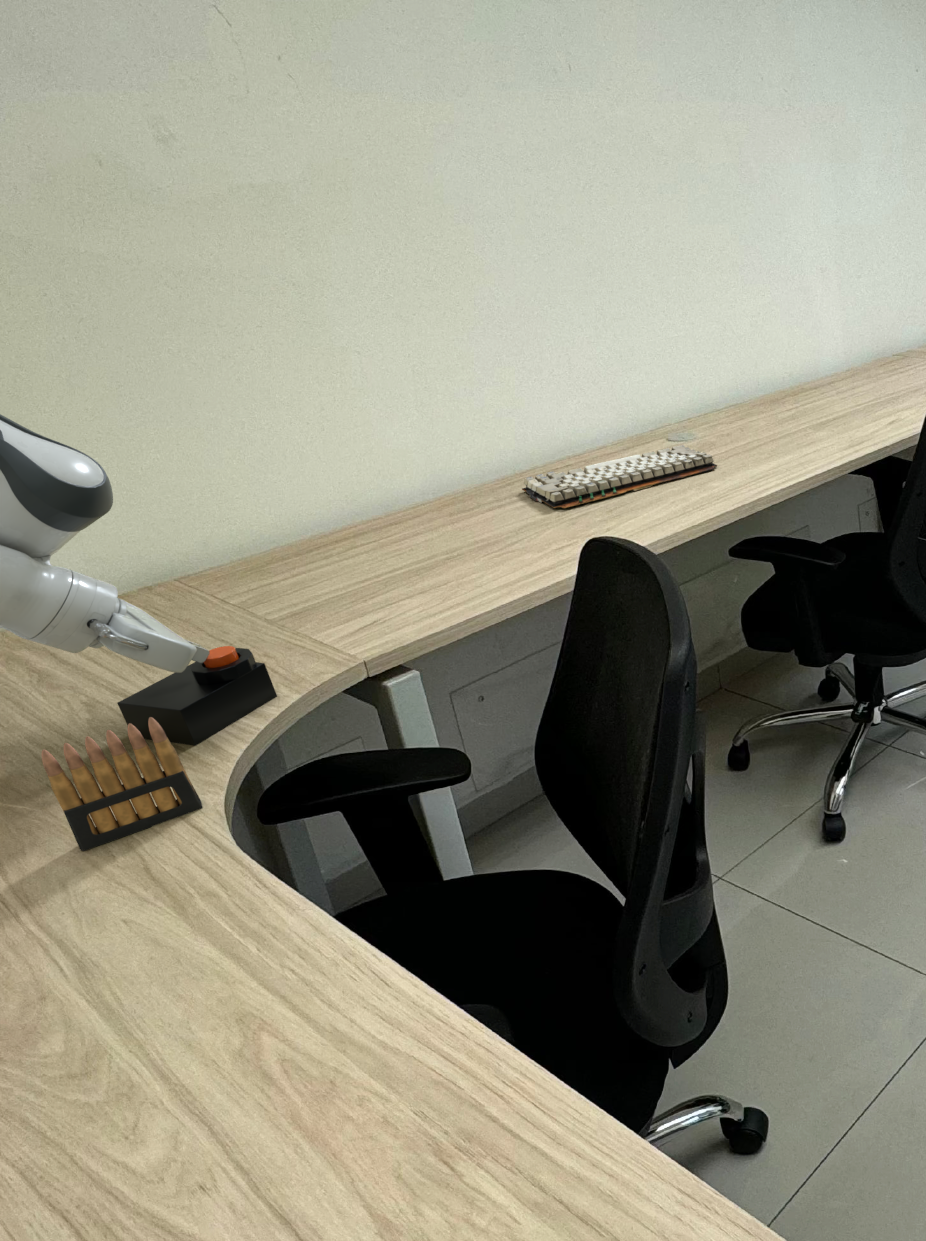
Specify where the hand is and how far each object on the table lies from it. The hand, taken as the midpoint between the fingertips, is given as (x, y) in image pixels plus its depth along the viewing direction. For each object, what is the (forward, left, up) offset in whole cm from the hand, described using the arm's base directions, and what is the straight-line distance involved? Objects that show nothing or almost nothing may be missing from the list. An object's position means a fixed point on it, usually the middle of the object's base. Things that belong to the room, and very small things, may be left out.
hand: (203, 654), depth 126 cm
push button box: (-1, -2, -8) cm, 9 cm away
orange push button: (+1, +1, -3) cm, 3 cm away
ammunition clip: (+13, -22, -9) cm, 27 cm away
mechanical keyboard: (+1, +95, -9) cm, 96 cm away
